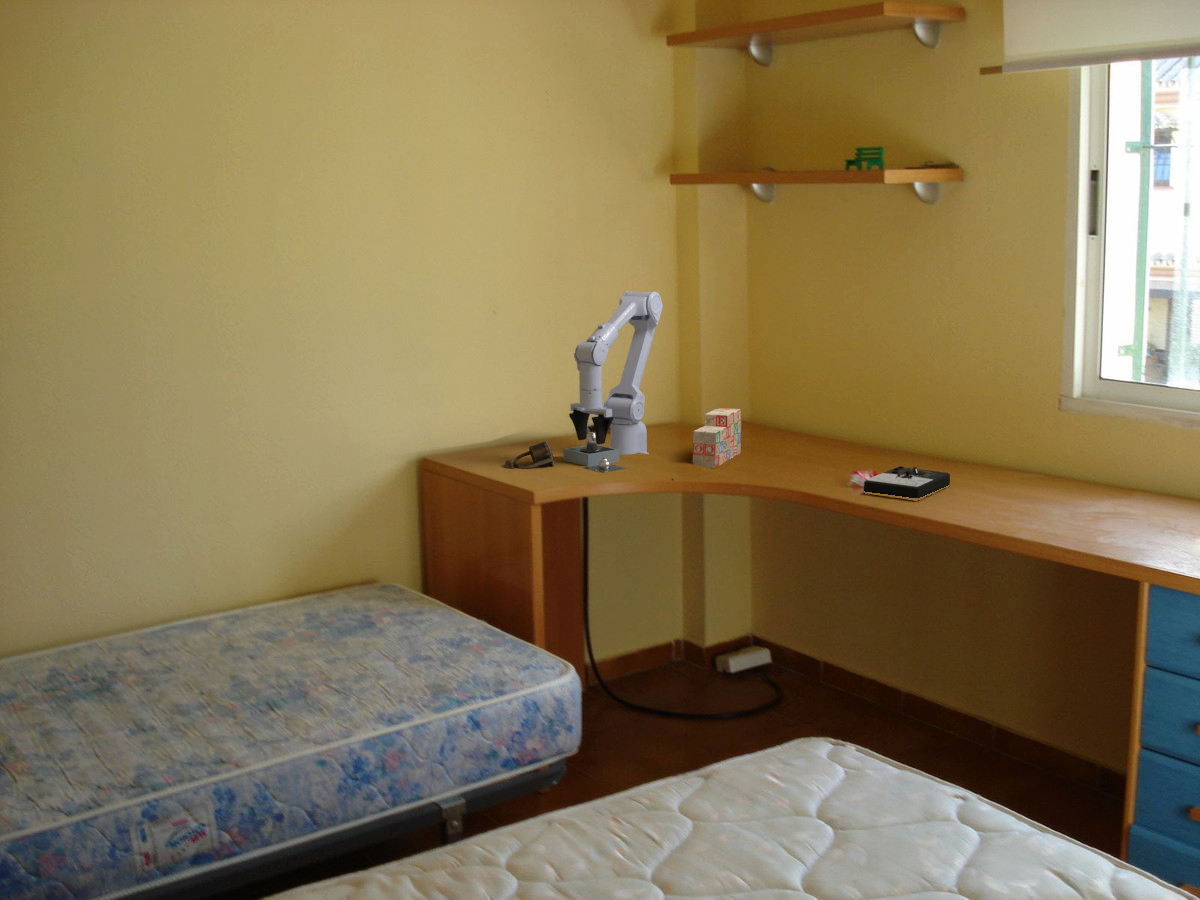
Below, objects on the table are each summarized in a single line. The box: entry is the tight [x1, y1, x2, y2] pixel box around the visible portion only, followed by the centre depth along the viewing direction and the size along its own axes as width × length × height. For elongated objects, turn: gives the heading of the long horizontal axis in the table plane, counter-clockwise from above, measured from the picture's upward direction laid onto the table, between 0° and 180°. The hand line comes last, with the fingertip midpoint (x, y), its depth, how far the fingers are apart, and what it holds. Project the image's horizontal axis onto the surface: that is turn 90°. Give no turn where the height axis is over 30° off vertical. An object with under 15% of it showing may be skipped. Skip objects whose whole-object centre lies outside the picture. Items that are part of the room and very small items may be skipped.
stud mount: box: [583, 458, 628, 474], centre depth 307 cm, size 8×8×4 cm
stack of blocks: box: [692, 407, 742, 469], centre depth 320 cm, size 21×6×12 cm, turn 156°
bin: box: [563, 444, 620, 467], centre depth 316 cm, size 10×10×4 cm
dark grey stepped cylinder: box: [580, 431, 603, 454], centre depth 316 cm, size 6×6×8 cm
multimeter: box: [863, 465, 951, 498], centre depth 284 cm, size 13×19×5 cm
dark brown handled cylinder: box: [504, 441, 555, 473], centre depth 310 cm, size 7×13×10 cm
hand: (591, 441), depth 315 cm, fingers open, 7 cm apart
